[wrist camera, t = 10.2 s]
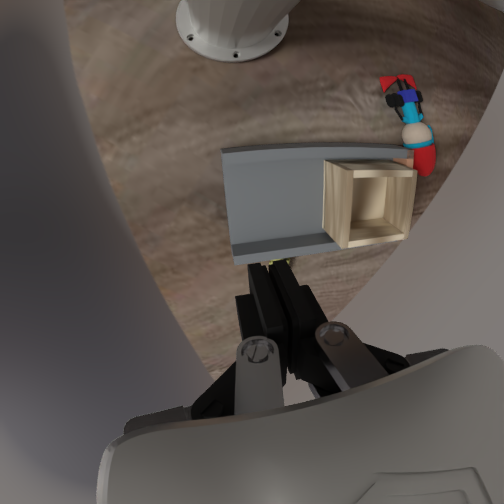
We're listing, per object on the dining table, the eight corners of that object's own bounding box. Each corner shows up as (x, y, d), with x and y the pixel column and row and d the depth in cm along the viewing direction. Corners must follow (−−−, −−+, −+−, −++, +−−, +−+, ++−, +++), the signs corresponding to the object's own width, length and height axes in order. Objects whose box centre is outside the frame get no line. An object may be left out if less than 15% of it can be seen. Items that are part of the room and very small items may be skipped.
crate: (322, 227, 35) (341, 248, 30) (323, 159, 31) (346, 170, 26) (383, 220, 36) (407, 238, 31) (389, 159, 32) (417, 170, 27)
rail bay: (231, 248, 36) (234, 265, 32) (220, 148, 30) (222, 153, 26) (387, 228, 39) (402, 240, 35) (395, 144, 32) (414, 150, 29)
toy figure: (368, 80, 29) (398, 180, 34) (388, 72, 24) (421, 184, 29) (403, 76, 29) (430, 168, 34) (424, 70, 25) (452, 170, 30)
